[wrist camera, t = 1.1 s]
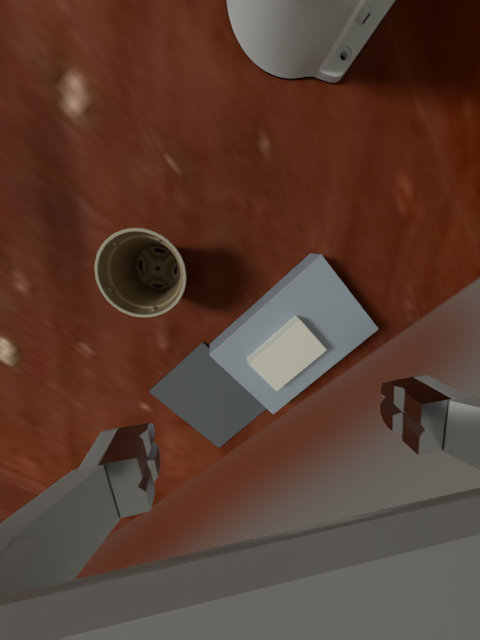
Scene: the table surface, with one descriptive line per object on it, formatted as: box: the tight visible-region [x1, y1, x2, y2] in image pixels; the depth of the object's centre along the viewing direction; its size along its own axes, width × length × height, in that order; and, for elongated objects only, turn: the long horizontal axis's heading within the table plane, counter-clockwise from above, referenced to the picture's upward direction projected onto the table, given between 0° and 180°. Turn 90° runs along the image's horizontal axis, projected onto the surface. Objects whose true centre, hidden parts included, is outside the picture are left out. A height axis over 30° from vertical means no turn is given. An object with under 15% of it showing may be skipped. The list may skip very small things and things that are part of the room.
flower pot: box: [95, 228, 186, 317], centre depth 31 cm, size 9×9×9 cm
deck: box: [209, 253, 378, 414], centre depth 37 cm, size 20×14×4 cm
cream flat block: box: [247, 315, 327, 391], centre depth 35 cm, size 9×6×2 cm, turn 132°
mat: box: [149, 342, 267, 448], centre depth 41 cm, size 12×16×1 cm
